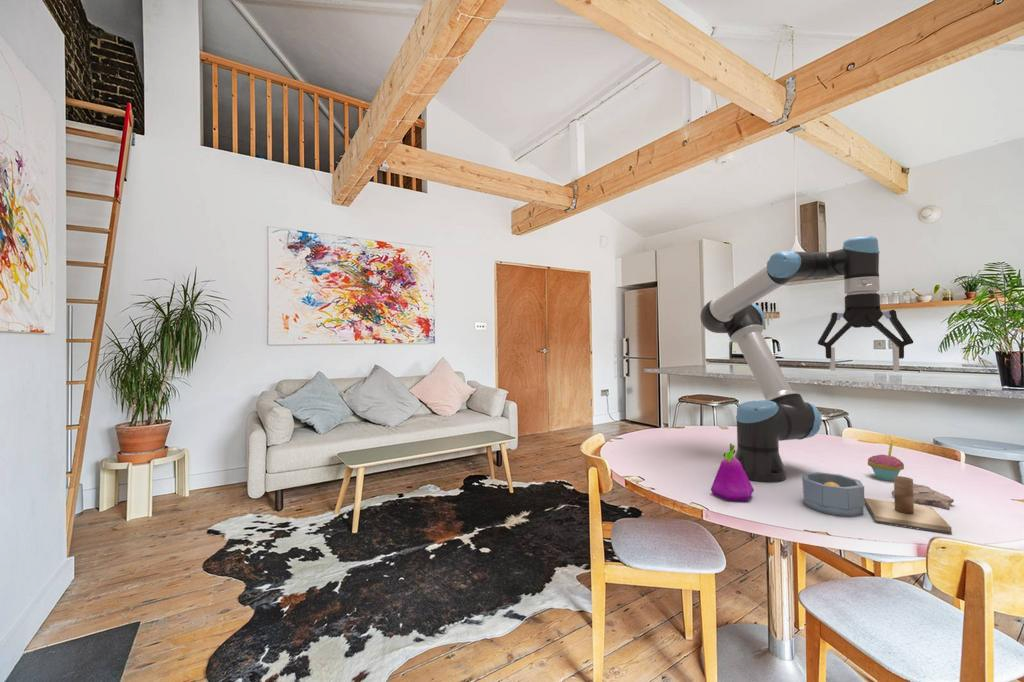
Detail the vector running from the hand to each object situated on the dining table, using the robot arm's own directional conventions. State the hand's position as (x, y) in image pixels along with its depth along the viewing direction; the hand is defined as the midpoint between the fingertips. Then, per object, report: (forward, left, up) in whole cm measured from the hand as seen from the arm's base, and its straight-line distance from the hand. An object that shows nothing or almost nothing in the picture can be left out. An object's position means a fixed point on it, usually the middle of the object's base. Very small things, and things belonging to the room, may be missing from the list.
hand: (863, 370), depth 117 cm
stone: (+12, +4, -35) cm, 37 cm away
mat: (+5, -14, -35) cm, 38 cm away
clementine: (-9, -13, -33) cm, 36 cm away
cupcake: (+8, +21, -35) cm, 42 cm away
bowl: (-9, -13, -35) cm, 38 cm away
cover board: (+5, -14, -34) cm, 37 cm away
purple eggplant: (-32, -16, -35) cm, 50 cm away
